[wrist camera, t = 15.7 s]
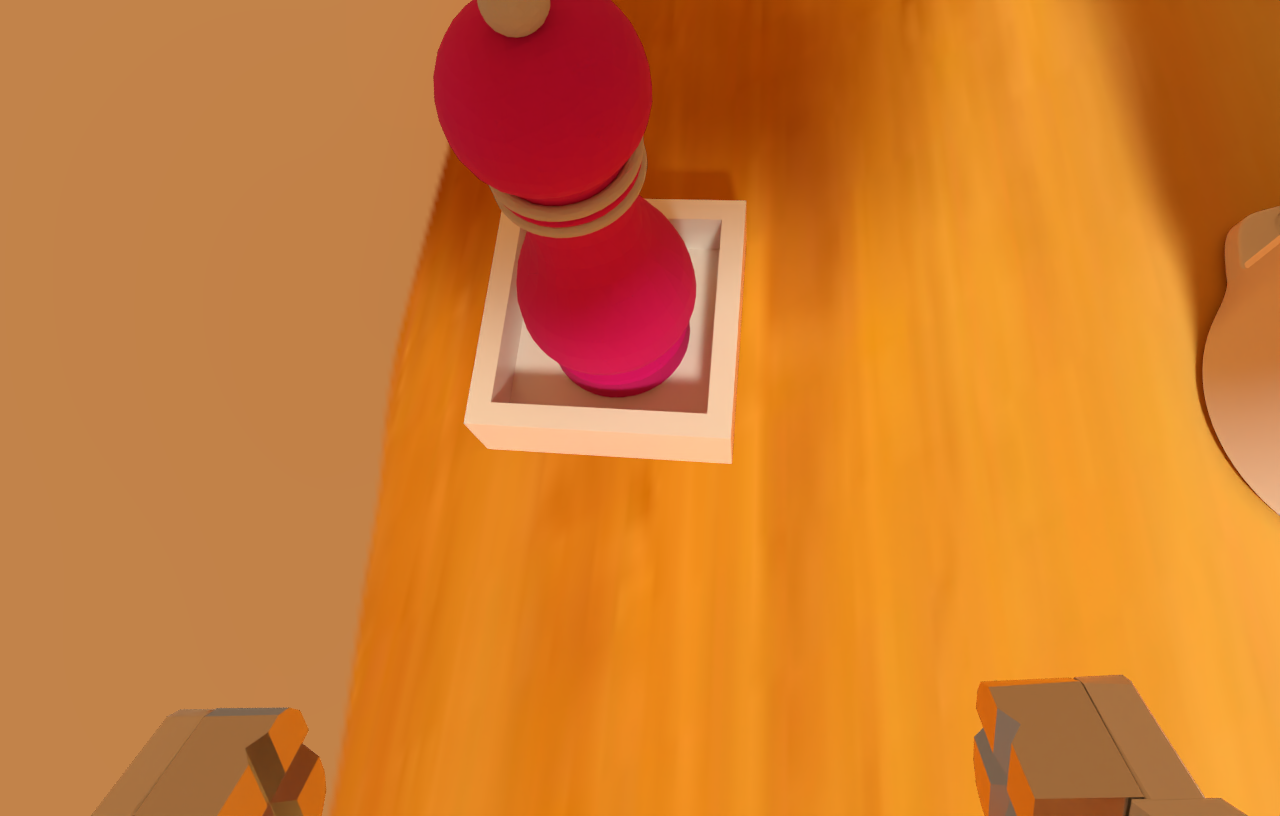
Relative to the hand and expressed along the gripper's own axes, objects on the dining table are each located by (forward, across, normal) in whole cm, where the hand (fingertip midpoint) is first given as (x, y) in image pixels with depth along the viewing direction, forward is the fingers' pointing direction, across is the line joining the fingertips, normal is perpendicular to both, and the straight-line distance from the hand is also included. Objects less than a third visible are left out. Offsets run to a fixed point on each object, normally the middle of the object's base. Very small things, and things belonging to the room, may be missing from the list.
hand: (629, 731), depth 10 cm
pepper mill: (+28, +4, +5) cm, 29 cm away
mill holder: (+29, +4, +6) cm, 30 cm away
